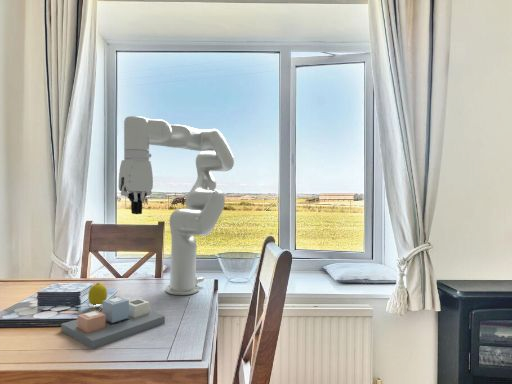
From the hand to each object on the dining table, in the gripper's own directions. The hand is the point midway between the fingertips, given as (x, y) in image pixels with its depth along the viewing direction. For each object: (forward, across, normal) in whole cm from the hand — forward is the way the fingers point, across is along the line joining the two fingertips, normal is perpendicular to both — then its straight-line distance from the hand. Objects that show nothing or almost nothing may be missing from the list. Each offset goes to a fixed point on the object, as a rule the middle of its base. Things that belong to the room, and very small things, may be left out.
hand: (136, 213), depth 112 cm
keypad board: (+30, +13, +8) cm, 34 cm away
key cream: (+30, +6, +8) cm, 32 cm away
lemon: (+31, +7, -10) cm, 34 cm away
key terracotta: (+30, +20, +7) cm, 37 cm away
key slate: (+28, +13, +8) cm, 32 cm away
